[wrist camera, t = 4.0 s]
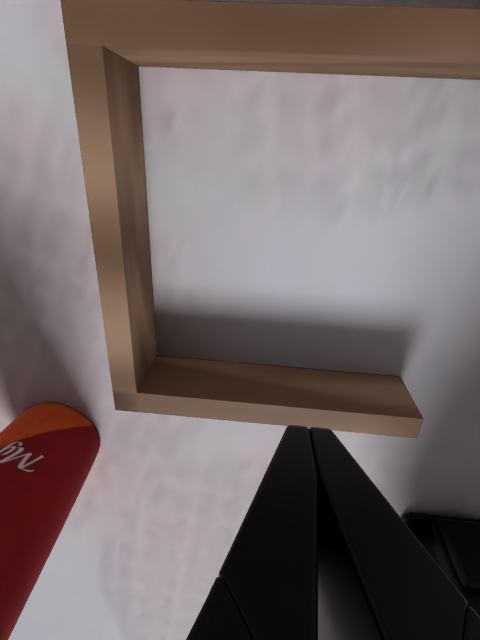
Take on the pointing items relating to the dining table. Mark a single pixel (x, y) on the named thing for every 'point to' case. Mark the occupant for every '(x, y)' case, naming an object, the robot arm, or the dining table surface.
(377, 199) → the dining table surface
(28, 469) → the paper cup
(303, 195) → the dining table surface
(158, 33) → the tray
